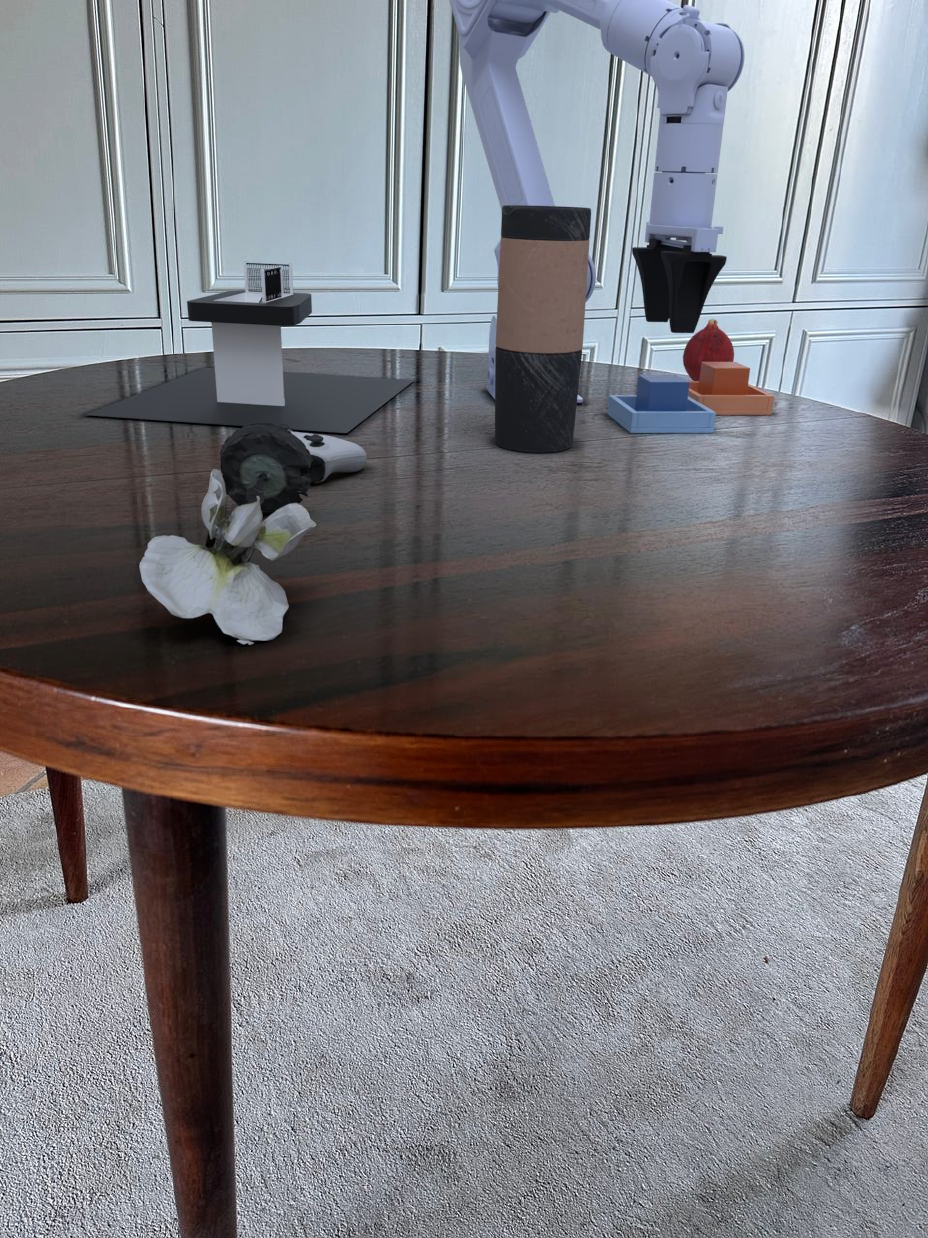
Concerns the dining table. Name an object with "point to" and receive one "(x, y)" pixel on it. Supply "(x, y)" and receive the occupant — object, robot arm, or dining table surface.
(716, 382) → the rust block
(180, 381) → the black-topped pedestal
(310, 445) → the game controller
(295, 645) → the dining table surface
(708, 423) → the slate tray
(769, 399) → the terracotta tray
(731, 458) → the dining table surface
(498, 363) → the travel mug
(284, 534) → the artificial flower
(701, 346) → the onion
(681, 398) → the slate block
